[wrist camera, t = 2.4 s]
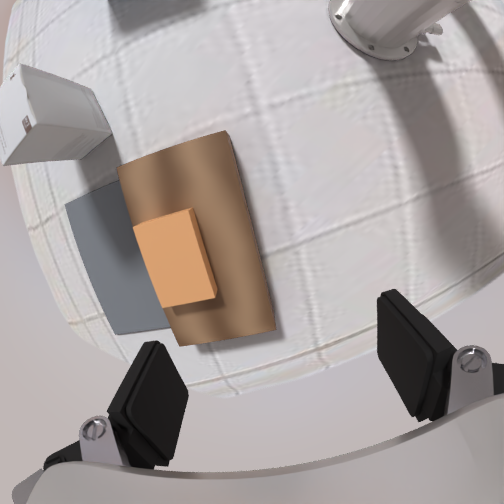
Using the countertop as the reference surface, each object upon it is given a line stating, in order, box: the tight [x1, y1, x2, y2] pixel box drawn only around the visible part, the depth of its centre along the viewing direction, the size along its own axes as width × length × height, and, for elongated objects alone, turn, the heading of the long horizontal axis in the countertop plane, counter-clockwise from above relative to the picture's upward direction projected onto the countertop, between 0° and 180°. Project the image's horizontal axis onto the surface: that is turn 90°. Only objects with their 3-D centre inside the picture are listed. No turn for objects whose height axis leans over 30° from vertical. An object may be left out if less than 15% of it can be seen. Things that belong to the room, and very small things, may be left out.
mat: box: [65, 180, 170, 334], centre depth 32 cm, size 11×20×1 cm, turn 14°
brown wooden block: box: [117, 130, 276, 347], centre depth 30 cm, size 12×22×4 cm, turn 14°
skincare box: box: [0, 63, 112, 166], centre depth 20 cm, size 8×6×15 cm
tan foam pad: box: [133, 208, 218, 308], centre depth 27 cm, size 9×6×2 cm, turn 14°
